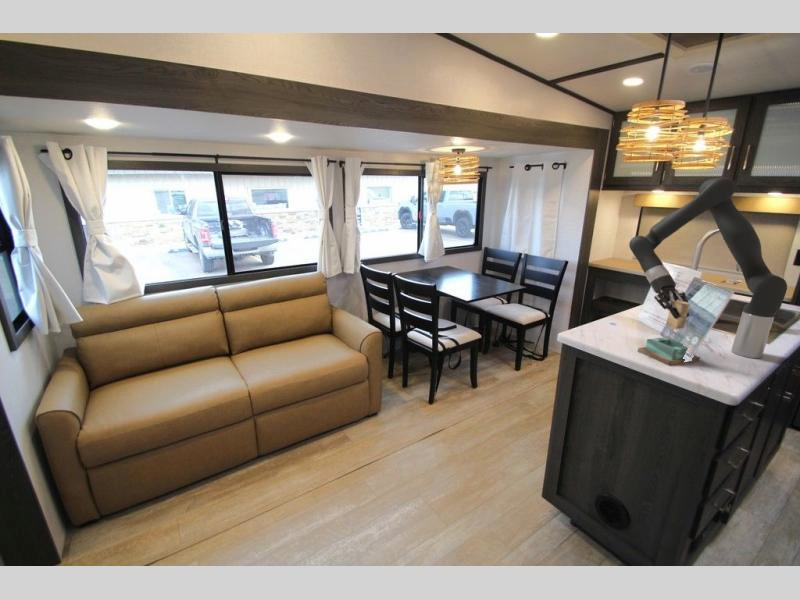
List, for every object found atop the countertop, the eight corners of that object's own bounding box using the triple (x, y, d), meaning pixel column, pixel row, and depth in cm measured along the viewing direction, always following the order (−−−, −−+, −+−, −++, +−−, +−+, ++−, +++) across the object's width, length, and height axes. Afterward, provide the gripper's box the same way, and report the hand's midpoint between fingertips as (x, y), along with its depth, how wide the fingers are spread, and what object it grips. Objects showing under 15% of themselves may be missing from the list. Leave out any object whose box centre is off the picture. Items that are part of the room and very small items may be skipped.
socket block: (667, 347, 154) (670, 335, 153) (699, 360, 142) (702, 347, 141) (637, 351, 150) (640, 338, 148) (668, 365, 138) (671, 351, 136)
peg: (673, 324, 145) (679, 300, 142) (683, 328, 141) (690, 303, 138) (665, 325, 144) (671, 300, 141) (675, 328, 140) (682, 303, 137)
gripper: (654, 274, 142) (677, 314, 134) (681, 273, 146) (705, 311, 138) (639, 284, 148) (660, 323, 141) (665, 283, 152) (687, 320, 145)
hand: (682, 317), depth 139 cm, fingers closed on peg, 4 cm apart
